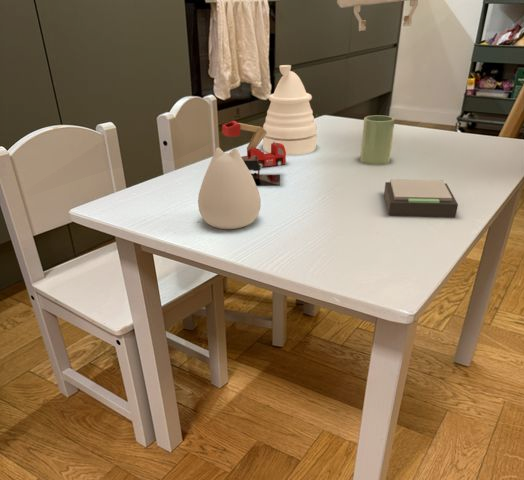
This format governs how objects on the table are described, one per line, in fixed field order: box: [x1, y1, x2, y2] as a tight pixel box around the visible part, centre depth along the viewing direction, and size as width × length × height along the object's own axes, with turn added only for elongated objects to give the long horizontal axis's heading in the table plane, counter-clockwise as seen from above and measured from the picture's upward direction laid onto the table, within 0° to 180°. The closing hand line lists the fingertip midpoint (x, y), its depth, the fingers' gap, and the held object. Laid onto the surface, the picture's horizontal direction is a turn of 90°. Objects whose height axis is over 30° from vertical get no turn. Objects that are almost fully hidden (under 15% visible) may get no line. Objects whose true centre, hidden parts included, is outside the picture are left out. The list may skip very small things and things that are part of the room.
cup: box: [359, 114, 396, 166], centre depth 109 cm, size 6×6×9 cm
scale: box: [383, 178, 459, 219], centre depth 88 cm, size 11×11×3 cm
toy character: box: [197, 147, 262, 230], centre depth 81 cm, size 10×10×12 cm
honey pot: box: [262, 64, 317, 156], centre depth 117 cm, size 13×13×18 cm
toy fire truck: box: [221, 120, 287, 169], centre depth 107 cm, size 3×14×10 cm, turn 110°
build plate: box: [242, 157, 281, 187], centre depth 101 cm, size 12×7×5 cm, turn 89°
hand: (384, 28), depth 107 cm, fingers open, 8 cm apart
